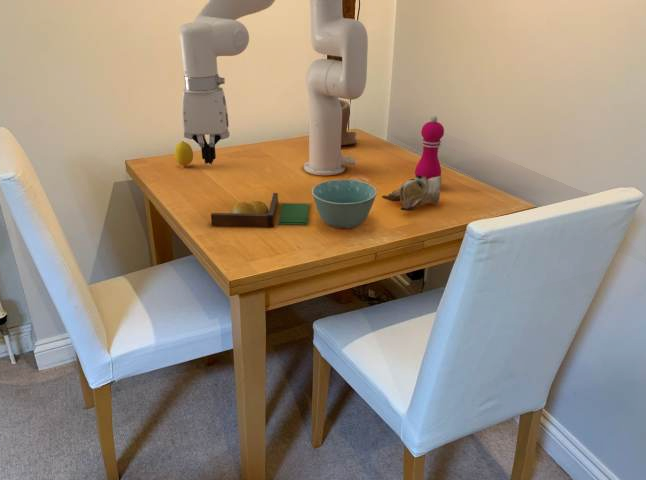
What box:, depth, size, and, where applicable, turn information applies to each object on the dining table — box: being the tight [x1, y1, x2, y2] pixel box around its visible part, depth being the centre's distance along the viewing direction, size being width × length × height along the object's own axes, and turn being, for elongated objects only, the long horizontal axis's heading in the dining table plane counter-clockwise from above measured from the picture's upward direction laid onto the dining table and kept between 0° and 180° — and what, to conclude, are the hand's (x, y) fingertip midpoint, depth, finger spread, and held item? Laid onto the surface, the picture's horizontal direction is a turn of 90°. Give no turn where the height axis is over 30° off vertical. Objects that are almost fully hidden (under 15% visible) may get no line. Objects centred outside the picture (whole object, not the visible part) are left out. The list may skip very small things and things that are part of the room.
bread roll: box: [232, 200, 270, 214], centre depth 146 cm, size 8×9×4 cm
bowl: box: [311, 179, 378, 230], centre depth 142 cm, size 16×16×8 cm
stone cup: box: [339, 98, 357, 146], centre depth 196 cm, size 15×12×15 cm
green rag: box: [277, 202, 310, 226], centre depth 148 cm, size 7×13×1 cm, turn 178°
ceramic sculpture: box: [381, 175, 442, 212], centre depth 151 cm, size 11×9×15 cm
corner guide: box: [210, 192, 279, 228], centre depth 147 cm, size 15×15×3 cm
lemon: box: [173, 140, 194, 168], centre depth 177 cm, size 6×6×8 cm
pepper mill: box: [414, 115, 445, 180], centre depth 160 cm, size 7×7×20 cm
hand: (209, 161), depth 140 cm, fingers closed
